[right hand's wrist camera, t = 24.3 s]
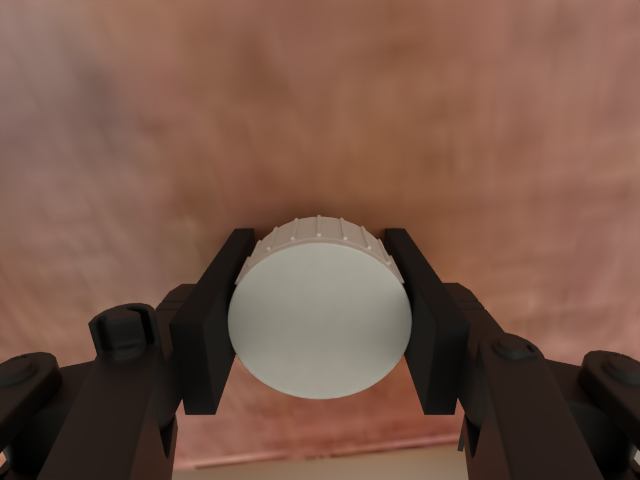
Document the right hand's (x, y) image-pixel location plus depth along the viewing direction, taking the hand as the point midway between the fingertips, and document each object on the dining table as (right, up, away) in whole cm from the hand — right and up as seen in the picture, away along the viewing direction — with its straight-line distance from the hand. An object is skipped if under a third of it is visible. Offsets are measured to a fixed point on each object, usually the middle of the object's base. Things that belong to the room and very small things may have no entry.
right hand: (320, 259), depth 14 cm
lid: (0, -2, -4) cm, 4 cm away
